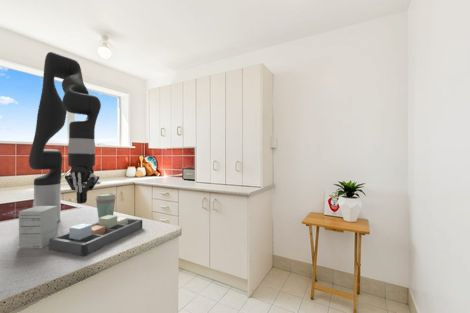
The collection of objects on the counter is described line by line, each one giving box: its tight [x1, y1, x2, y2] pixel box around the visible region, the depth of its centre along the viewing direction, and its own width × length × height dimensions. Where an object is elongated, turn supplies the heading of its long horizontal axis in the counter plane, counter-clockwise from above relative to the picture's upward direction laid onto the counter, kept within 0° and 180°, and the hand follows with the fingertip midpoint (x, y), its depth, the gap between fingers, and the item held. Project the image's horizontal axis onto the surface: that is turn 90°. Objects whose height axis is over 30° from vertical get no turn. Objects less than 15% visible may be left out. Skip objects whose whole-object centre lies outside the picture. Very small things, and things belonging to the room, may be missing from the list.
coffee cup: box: [95, 192, 117, 219], centre depth 102 cm, size 9×8×12 cm
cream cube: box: [117, 216, 128, 225], centre depth 88 cm, size 4×4×4 cm
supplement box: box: [18, 206, 59, 250], centre depth 74 cm, size 7×7×13 cm
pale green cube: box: [98, 214, 118, 229], centre depth 83 cm, size 4×4×4 cm
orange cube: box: [92, 225, 105, 235], centre depth 78 cm, size 4×4×4 cm
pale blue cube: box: [68, 223, 92, 240], centre depth 72 cm, size 4×4×4 cm
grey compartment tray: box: [48, 216, 143, 257], centre depth 80 cm, size 15×26×4 cm, turn 164°
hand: (81, 203), depth 72 cm, fingers closed
